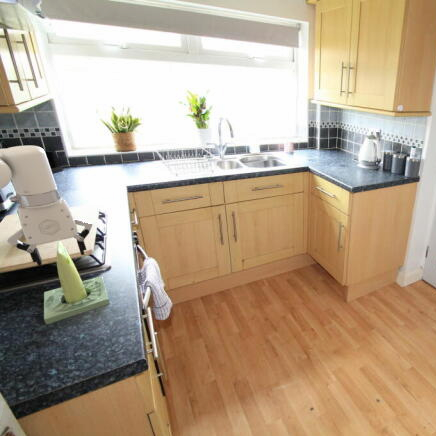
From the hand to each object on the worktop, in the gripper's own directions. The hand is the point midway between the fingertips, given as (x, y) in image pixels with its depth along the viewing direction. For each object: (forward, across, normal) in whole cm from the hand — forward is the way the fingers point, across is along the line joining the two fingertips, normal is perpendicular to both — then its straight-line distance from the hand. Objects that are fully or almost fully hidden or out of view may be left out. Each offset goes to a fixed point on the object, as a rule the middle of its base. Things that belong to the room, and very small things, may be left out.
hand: (62, 257), depth 85 cm
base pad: (+16, 0, 0) cm, 16 cm away
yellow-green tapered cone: (+16, 0, 0) cm, 16 cm away
